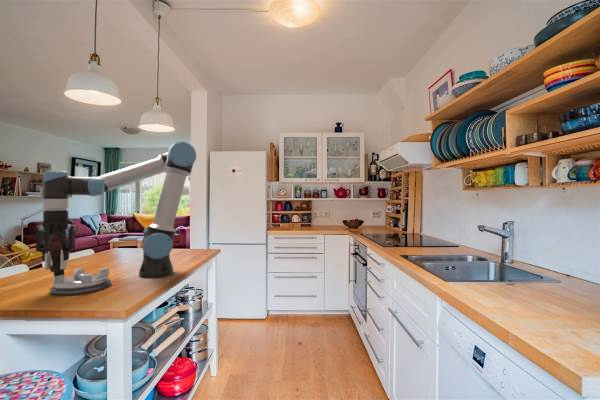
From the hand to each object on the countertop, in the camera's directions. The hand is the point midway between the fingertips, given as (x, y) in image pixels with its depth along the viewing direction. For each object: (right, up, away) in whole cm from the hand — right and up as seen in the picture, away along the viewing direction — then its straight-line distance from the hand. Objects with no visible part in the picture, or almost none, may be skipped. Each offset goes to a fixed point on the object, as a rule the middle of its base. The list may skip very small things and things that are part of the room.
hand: (55, 268), depth 112 cm
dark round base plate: (+6, -9, +6) cm, 12 cm away
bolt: (-1, -4, +3) cm, 6 cm away
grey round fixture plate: (+6, -8, +6) cm, 11 cm away
